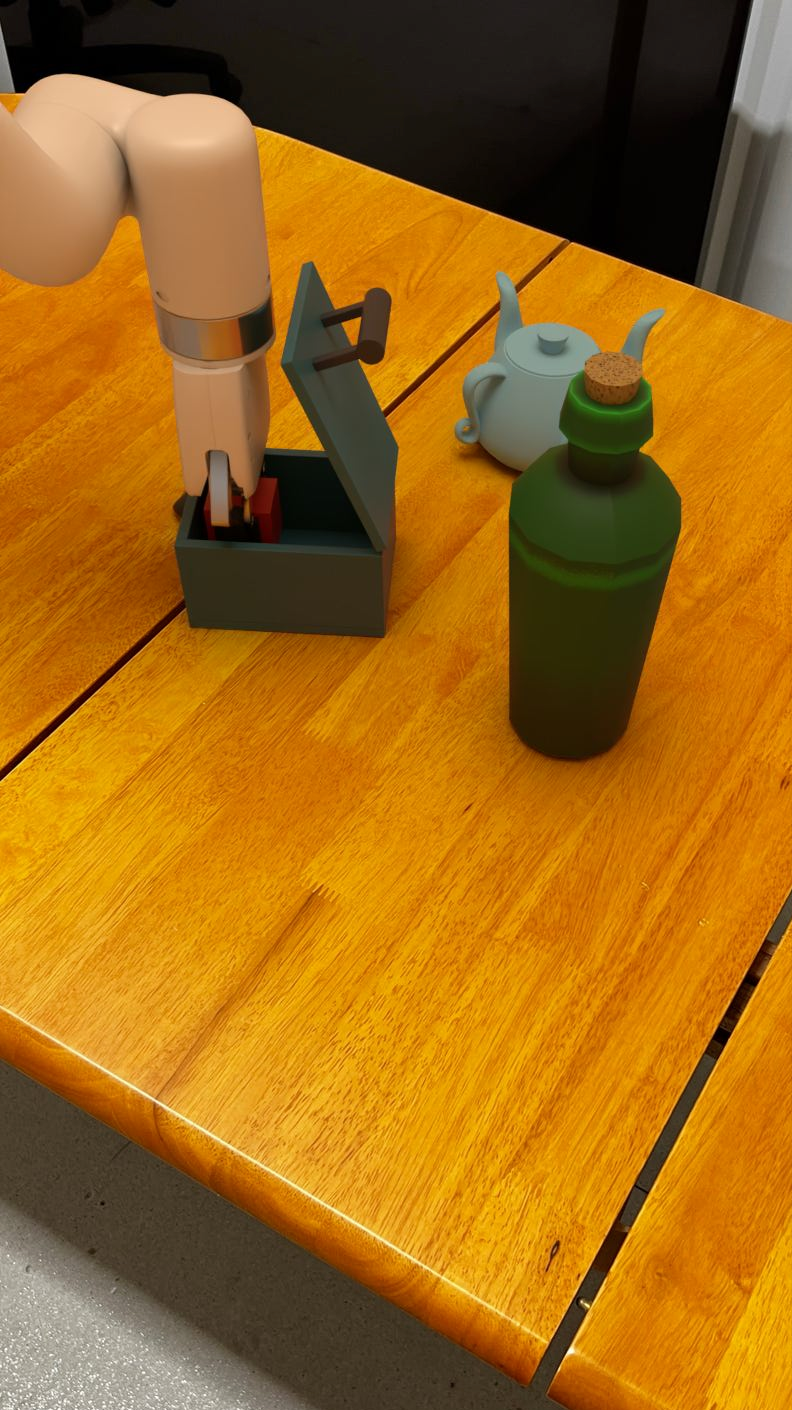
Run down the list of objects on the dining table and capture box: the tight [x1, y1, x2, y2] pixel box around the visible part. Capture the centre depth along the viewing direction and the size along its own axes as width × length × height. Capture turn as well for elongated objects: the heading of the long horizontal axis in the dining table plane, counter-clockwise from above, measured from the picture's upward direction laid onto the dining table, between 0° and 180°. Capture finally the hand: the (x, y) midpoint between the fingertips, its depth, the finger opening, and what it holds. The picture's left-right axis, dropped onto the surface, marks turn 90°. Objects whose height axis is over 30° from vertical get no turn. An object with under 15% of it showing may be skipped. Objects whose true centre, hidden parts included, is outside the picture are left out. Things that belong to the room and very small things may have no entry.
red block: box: [204, 478, 282, 544], centre depth 97 cm, size 5×4×4 cm
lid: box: [279, 260, 400, 552], centre depth 89 cm, size 15×12×6 cm
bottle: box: [508, 350, 682, 759], centre depth 83 cm, size 11×11×28 cm
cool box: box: [173, 447, 397, 638], centre depth 98 cm, size 15×12×8 cm
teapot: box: [453, 270, 666, 473], centre depth 109 cm, size 15×15×10 cm
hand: (246, 538), depth 98 cm, fingers closed on red block, 4 cm apart
